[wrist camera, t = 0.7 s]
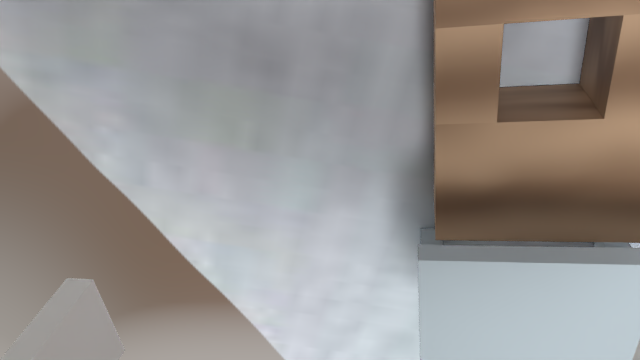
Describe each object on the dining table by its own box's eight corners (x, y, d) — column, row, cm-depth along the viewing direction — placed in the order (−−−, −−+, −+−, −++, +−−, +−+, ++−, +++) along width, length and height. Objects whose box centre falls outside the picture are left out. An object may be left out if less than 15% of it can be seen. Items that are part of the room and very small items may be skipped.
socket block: (433, -76, 28) (435, -65, 23) (680, -104, 25) (731, -97, 21) (433, 196, 37) (435, 240, 33) (613, 196, 34) (640, 242, 30)
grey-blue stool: (418, 143, 35) (417, 260, 25) (644, 137, 32) (747, 267, 22) (420, 244, 39) (420, 378, 29) (617, 247, 37) (692, 397, 26)
